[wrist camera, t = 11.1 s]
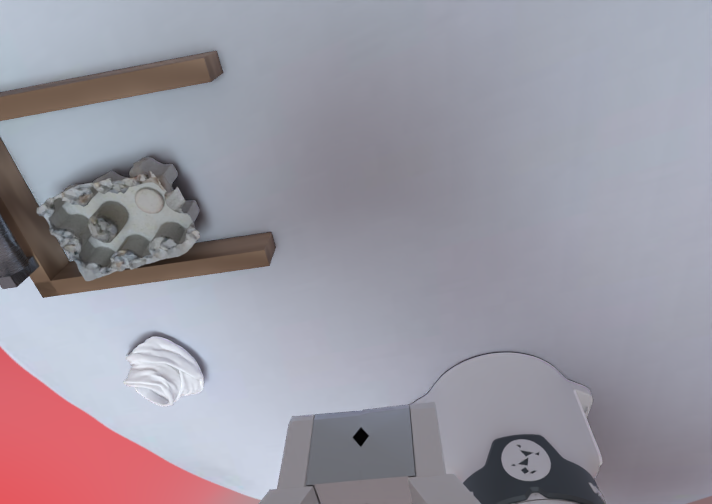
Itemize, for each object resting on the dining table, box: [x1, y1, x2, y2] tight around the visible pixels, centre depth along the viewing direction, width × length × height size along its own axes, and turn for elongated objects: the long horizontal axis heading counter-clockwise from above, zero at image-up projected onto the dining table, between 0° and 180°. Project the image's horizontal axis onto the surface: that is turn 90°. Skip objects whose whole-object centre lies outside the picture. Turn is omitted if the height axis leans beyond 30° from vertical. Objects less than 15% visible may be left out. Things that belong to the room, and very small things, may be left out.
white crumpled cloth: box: [123, 336, 204, 407], centre depth 47 cm, size 8×7×5 cm
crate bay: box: [0, 51, 276, 298], centre depth 38 cm, size 16×20×3 cm
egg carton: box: [36, 157, 200, 281], centre depth 38 cm, size 11×8×4 cm
